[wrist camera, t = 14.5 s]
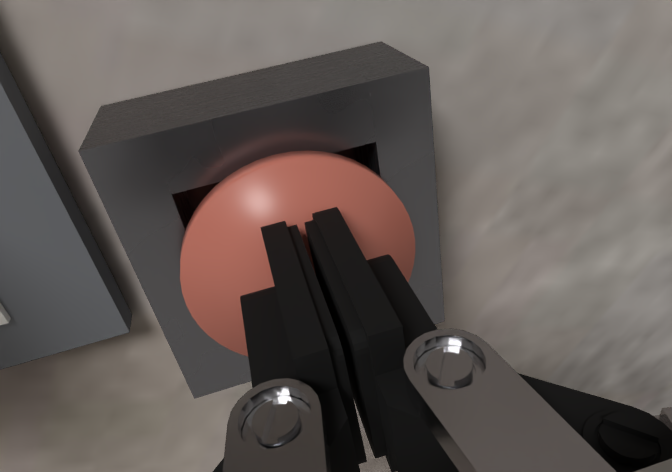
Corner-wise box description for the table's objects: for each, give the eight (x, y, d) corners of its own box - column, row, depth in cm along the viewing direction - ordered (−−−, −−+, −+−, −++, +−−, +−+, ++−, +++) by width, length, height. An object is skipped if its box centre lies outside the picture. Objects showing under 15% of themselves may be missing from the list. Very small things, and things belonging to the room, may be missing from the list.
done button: (365, 96, 12) (405, 131, 10) (388, 268, 15) (423, 324, 13) (149, 149, 12) (141, 198, 9) (215, 318, 14) (220, 387, 12)
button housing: (381, 41, 13) (429, 67, 10) (405, 263, 17) (444, 321, 14) (100, 106, 12) (78, 151, 10) (192, 325, 16) (194, 398, 13)
